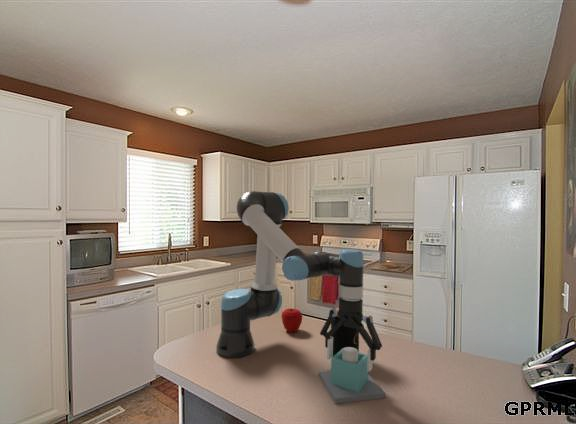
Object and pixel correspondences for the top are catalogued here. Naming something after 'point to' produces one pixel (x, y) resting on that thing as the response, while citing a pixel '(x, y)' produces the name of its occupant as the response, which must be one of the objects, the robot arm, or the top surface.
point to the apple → (291, 319)
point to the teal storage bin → (349, 372)
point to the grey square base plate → (345, 395)
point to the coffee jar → (344, 336)
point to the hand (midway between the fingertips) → (349, 363)
